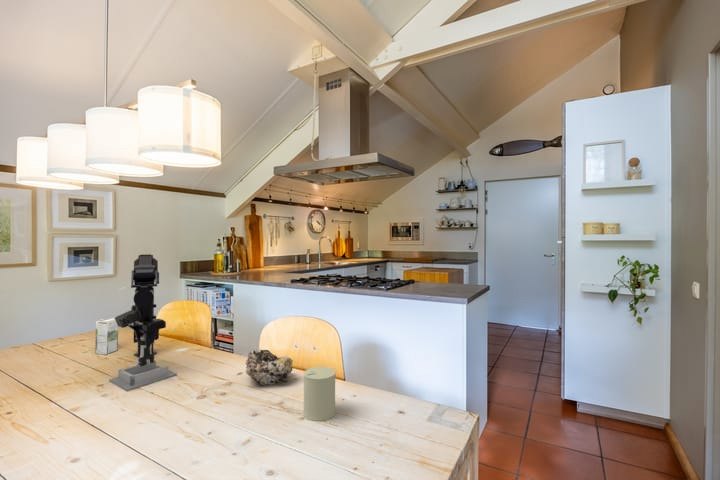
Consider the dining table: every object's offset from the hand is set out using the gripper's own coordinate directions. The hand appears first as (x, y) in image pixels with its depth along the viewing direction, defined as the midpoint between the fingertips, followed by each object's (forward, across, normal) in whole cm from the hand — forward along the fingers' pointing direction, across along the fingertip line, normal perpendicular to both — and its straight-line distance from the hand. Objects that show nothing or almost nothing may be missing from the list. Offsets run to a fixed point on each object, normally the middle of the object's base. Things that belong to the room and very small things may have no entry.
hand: (144, 346), depth 120 cm
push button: (+7, 0, 0) cm, 7 cm away
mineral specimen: (+12, +38, +23) cm, 46 cm away
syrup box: (+12, -43, +4) cm, 45 cm away
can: (+11, +67, +17) cm, 70 cm away
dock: (+11, 0, 0) cm, 11 cm away
